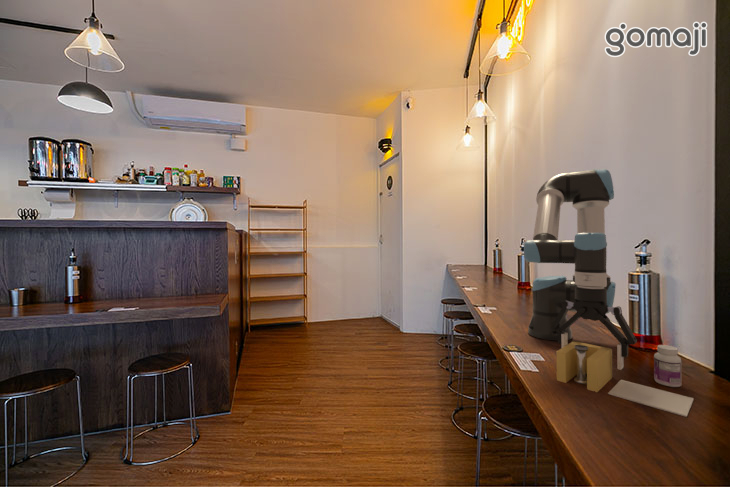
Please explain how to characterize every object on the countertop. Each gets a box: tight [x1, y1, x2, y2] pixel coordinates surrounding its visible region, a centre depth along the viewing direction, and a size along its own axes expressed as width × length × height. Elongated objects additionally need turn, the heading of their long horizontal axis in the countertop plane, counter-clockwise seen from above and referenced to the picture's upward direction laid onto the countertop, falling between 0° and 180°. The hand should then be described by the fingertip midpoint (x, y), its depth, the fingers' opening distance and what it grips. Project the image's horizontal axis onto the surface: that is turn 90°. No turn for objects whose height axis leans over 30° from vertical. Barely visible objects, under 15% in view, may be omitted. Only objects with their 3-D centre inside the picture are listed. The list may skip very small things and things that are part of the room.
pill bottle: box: [653, 344, 682, 388], centre depth 87 cm, size 5×5×10 cm
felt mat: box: [607, 379, 694, 418], centre depth 80 cm, size 11×14×1 cm
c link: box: [555, 340, 613, 393], centre depth 90 cm, size 13×9×8 cm
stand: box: [573, 345, 588, 385], centre depth 89 cm, size 3×3×10 cm
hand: (591, 361), depth 94 cm, fingers open, 13 cm apart
